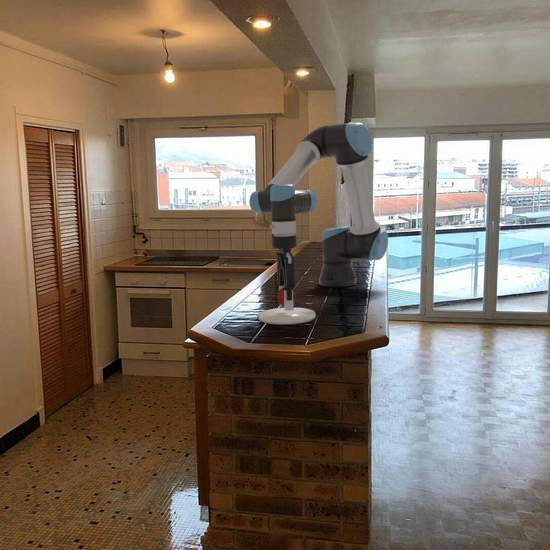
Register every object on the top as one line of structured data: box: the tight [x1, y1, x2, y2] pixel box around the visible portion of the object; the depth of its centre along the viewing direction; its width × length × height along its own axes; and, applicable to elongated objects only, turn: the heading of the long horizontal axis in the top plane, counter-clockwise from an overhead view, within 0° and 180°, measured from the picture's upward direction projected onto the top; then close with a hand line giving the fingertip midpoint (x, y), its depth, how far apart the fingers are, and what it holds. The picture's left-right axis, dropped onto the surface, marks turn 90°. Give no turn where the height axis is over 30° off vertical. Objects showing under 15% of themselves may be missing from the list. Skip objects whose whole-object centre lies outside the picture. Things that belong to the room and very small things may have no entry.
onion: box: [276, 286, 297, 308], centre depth 187 cm, size 6×6×8 cm
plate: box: [258, 307, 317, 325], centre depth 188 cm, size 18×18×1 cm
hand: (286, 307), depth 187 cm, fingers closed on onion, 6 cm apart
